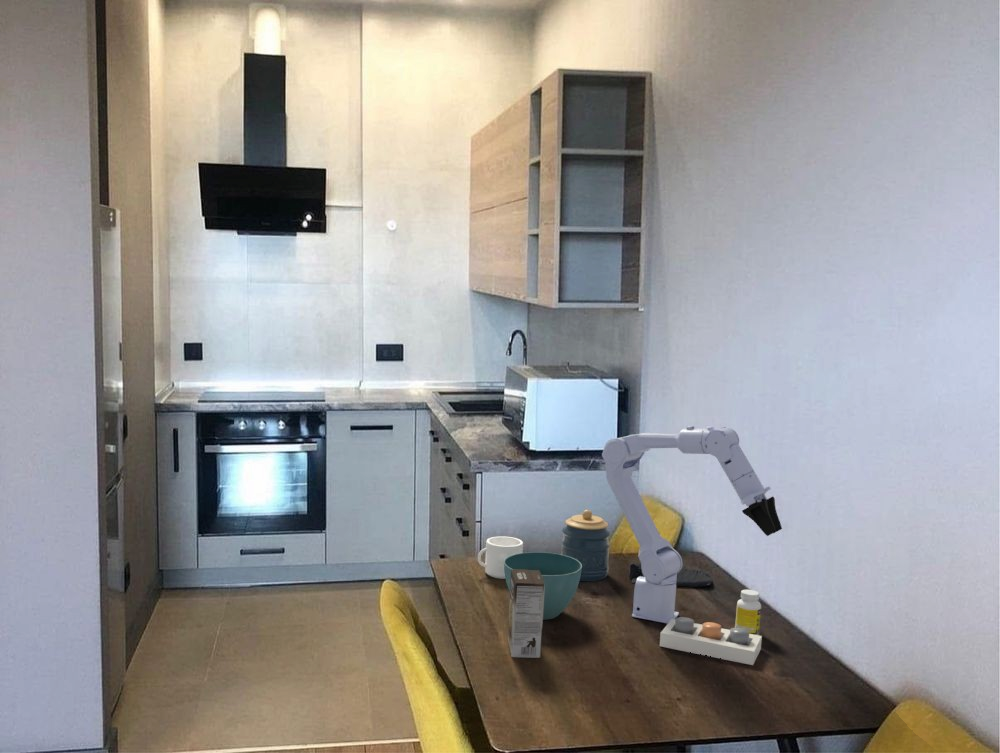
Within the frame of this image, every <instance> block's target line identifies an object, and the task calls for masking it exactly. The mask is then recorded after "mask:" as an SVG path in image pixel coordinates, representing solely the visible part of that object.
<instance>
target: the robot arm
mask: <svg viewBox="0 0 1000 753" xmlns="http://www.w3.org/2000/svg"><path fill="white" fill-rule="evenodd" d="M674 448H675V449H678V450H679V452H681V453H682V454H687V455H688V454H689V455H690V454H691V455H692V454H693V455H694V454H695V455H696V454H697V455H711V456H713V457H715V458H716V459H717V460H718V463H719V464H720V466H721V469H723V472H724V473H725V475H726V477H727V478H728V480H729V482H730V483H731V486H732V487H733V489H734V490H735V492H736V494H737V496H738V498H739V499H740V503H741V505H742V506H743V505H745V506H746V508H744V509H743V510H741V511H742V513H743V514H744V515H745V516H747V517H749V519H751V520H752V521H753V522H754V523H755V524H756V525H757V527H759V529H760V530H761V531H762V532H763V533H764V535H765V536H766V537H768V536H771V535H772V534H775V533H777V532H779V531H781V530H782V529H783V528H782V523H781V521H780V518H779V516H778V512H777V509H776V499H775V497H774V496H770V497H769V498H767V495H766V493H767V492H769V491H770V490H771V489H772V488H771V486H766V487H764V485H763V484H762V482H761V480H760V478H759V477H758V475H757V474H756V472H755V470H754V468H753V467H752V465H751V463H750V461H749V459H748V458H747V456H746V455H745V454H746V453H744V452H743V450H742V448H741V446H740V437H739V434H738V433H737V432H736V430H734V429H733V428H730V427H726V426H723V427H720V428H718V429H715V427H714V426H707V427H706V428H695V425H688V426H686V428H682V429H681V430H680V431H679V433H660V432H642V433H637V434H634V433H633V434H628V435H627V436H622V437H614V438H610V439H609V440H607V442H606V443H605V444H604V448H603V450H602V453H601V456H602V458H603V460H604V464H605V475H606V481H607V483H608V485H609V487H610V489H611V491H612V493H613V494H614V495H613V496H614V497H615V499H616V500H617V501H616V502H617V503H618V505H619V507H620V510H621V511H622V513H623V515H624V516H625V518H626V521H627V523H628V525H629V527H630V528H631V531H632V533H633V534H634V537H635V538H636V541H637V543H638V545H639V550H638V555H637V557H638V558H639V562H640V564H641V569H642V573H643V575H644V577H641V576H639V577H638V578H637V580H636V584H634V589H633V606H632V614H631V617H632V618H638V619H640V620H641V619H643V620H648V621H653V622H658V623H663V624H666V625H667V624H668V623H669V622H670V620H671V619H676V618H678V616H679V615H680V613H679V611H675V610H676V609H675V607H676V595H677V594H676V592H677V586H676V581H677V573H678V572H679V571H680V570H681V568H683V559H682V555H680V553H679V552H678V551H677V550H676V549H674V547H673V546H672V544H671V542H670V541H668V539H666V538H664V537H662V536H661V534H660V532H659V530H658V528H657V526H656V524H655V522H654V520H653V517H652V516H651V514H650V512H649V511H648V508H647V506H646V504H645V502H644V501H643V499H642V497H641V495H640V493H639V491H638V489H637V487H636V485H635V483H634V481H633V479H632V476H633V473H634V469H635V467H636V466H637V464H638V463H639V462H640V461H641V459H642V458H643V457H644V455H645V452H648V451H650V450H651V449H674Z"/></svg>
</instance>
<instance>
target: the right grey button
mask: <svg viewBox="0 0 1000 753" xmlns="http://www.w3.org/2000/svg"><path fill="white" fill-rule="evenodd" d="M729 630H730V641H729V642H731V643H736V644H741V645H746V646H748V644H749V631H748V630H746V629H744V628H735V627H731V628H730V629H729Z"/></svg>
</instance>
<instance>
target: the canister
mask: <svg viewBox="0 0 1000 753" xmlns="http://www.w3.org/2000/svg"><path fill="white" fill-rule="evenodd" d="M565 524H566V526H564V527H562V529H561V532H562V534H563V538H562V540H561V550H560V554H562V555H566V556H569V557H572V558H574V559H576V560H578V561H579V562H580V563H581V564H582V571H581V576H580V580H579V582H598V581H602V580H604V579H606V578H607V577H608V575H609V574H608V573H609V569H610V568H609V556H610V554H609V553H610V547H611V544H610V542H609V538H610V537H611V535H612V533H611V531H610V530H609V529H608V526H609V522H607V521H605V520H604V519H603V518H602V517H600V516H597V515H593V512H592V511H591V510H589V509H585V510H584V511H582V514H574V515H572V516H571V517H569V518H567V519H566V520H565Z"/></svg>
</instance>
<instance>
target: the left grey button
mask: <svg viewBox="0 0 1000 753" xmlns="http://www.w3.org/2000/svg"><path fill="white" fill-rule="evenodd" d="M675 619H676V620H675V632H680V633H685V634H690V635H693V628H694V623H695V620H694V619H692V618H691V617H685V616H680V617H678V616H677V617H676V618H675Z"/></svg>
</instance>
